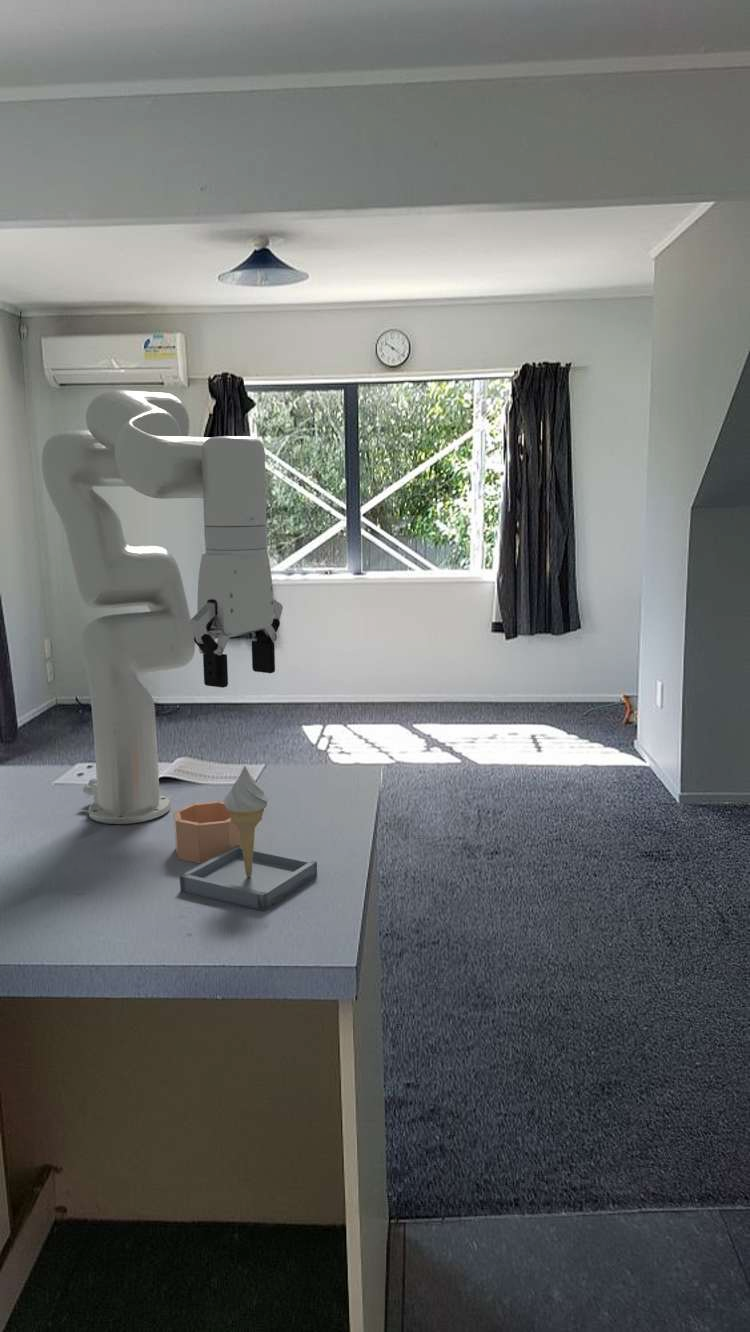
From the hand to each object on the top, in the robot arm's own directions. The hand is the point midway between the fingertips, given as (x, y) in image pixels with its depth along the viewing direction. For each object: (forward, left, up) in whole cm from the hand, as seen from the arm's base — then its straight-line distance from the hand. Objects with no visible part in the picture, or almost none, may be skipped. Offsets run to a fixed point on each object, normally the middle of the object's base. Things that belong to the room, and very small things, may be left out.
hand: (240, 678), depth 119 cm
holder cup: (-12, +7, -27) cm, 30 cm away
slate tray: (0, 0, -27) cm, 27 cm away
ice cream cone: (0, 0, -26) cm, 26 cm away
